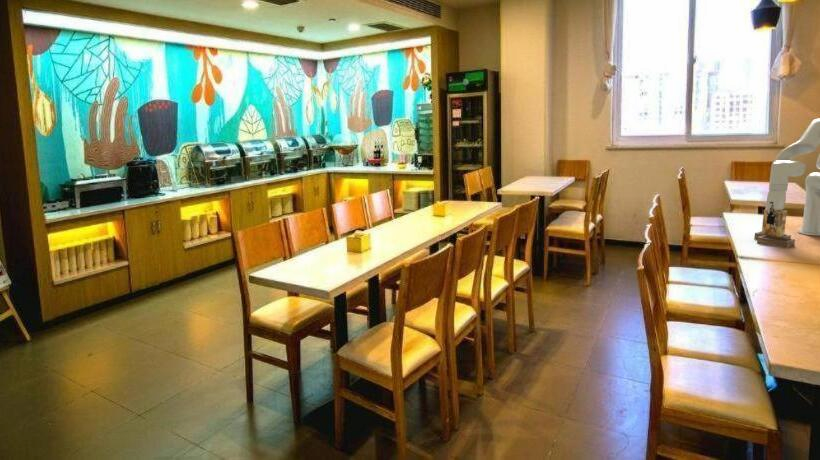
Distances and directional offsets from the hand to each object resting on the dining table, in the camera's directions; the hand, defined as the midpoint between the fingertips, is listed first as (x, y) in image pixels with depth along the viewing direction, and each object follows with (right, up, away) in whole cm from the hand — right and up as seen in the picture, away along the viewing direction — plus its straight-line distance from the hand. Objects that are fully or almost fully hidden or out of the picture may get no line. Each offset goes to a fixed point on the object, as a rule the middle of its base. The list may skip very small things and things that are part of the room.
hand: (774, 222), depth 273 cm
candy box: (0, -9, +2) cm, 9 cm away
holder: (-2, -10, -2) cm, 10 cm away
